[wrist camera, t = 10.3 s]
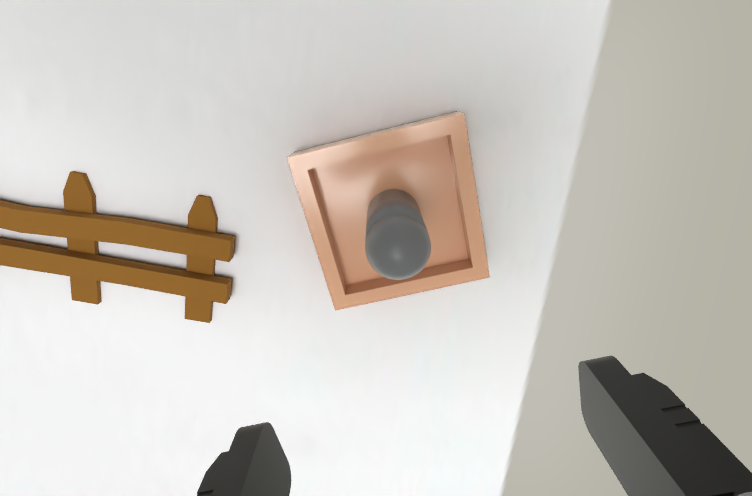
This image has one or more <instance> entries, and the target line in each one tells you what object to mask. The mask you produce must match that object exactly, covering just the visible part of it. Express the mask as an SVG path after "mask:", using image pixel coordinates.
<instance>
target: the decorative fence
mask: <svg viewBox="0 0 752 496" xmlns="http://www.w3.org/2000/svg"><path fill="white" fill-rule="evenodd" d="M63 195H64V207H65V210H56V209H47V208H39V207H30V206H24V205H20V204H16V203H11V202H7V201H2V200H0V228H3V229H7V230H12V231H16V232H21V233H30V234H39V235H48V236H56V237H65V238H67V245H68V250H66V249H61V248H55V247H49V246H44V245H38V244H33V243H27V242H21V241H15V240H9V239H3V238H0V265H3V266H10V267H16V268H22V269H28V270H34V271H40V272H47V273H53V274H59V275H66V276H70V282H71V294H72V300H75V301H81V302H87V303H93V304H99V303H100V302H101V287H100V281H104V282H110V283H116V284H122V285H128V286H133V287H138V288H144V289H149V290H154V291H160V292H165V293H170V294H176V295H181V296H186V298H185V319H189V320H195V321H201V322H208V323H210V321H211V320H212V305H213V302H218V303H224V304H226V303H227V302H228V300H229V299H230V295H231V282H232V279H229V278H224V277H218V276H214V271H215V260H221V261H227V262H230V260H231V259H232V258H233V256H234V243H235V236H230V235H225V234H219V233H217V220H218V218H217V215H216V211H215V208H214V205H213V202H212V199H211V197H208V196H203V195H198V196H197V197H196V199H195V201H194V203H193V206H192V208H191V210H190V212H189V214H188V228H185V227H179V226H173V225H168V224H162V223H156V222H150V221H145V220H139V219H133V218H125V217H117V216H108V215H99V214H96V196H95V193H94V191H93V188H92V186H91V184H90V181H89V179H88V177H87V174H85V173H80V172H75V171H73V172H70V174H69V176H68V179H67V182H66V185H65V188H64V191H63ZM98 241H101V242H110V243H118V244H127V245H133V246H139V247H145V248H150V249H156V250H162V251H168V252H174V253H180V254H186V255H187V267H186V271H184V270H179V269H173V268H167V267H162V266H156V265H151V264H145V263H139V262H134V261H128V260H122V259H117V258H111V257H106V256H100V255H99V250H98Z"/></svg>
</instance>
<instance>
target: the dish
mask: <svg viewBox="0 0 752 496" xmlns="http://www.w3.org/2000/svg"><path fill="white" fill-rule="evenodd" d="M287 160H288V163H289V167H290V170H291V173H292V176H293V179H294V182H295V185H296V189H297V192H298V195H299V198H300V201H301V204H302V207H303V211H304V214H305V217H306V220H307V223H308V226H309V229H310V233H311V236H312V239H313V242H314V245H315V248H316V251H317V254H318V258H319V261H320V264H321V267H322V270H323V273H324V276H325V280H326V283H327V286H328V289H329V292H330V295H331V298H332V302H333V305H334V308H335V310H339V309H344V308H349V307H354V306H358V305H363V304H368V303H372V302H377V301H382V300H386V299H391V298H396V297H400V296H405V295H410V294H414V293H419V292H424V291H428V290H433V289H438V288H442V287H447V286H452V285H456V284H461V283H466V282H470V281H475V280H480V279H484V278H489V277H490V276H489V270H488V263H487V257H486V250H485V244H484V237H483V231H482V224H481V218H480V211H479V205H478V199H477V192H476V186H475V179H474V173H473V166H472V160H471V153H470V147H469V140H468V134H467V127H466V121H465V115H464V113H461V112H457V111H456V112H452V113H448V114H444V115H440V116H436V117H432V118H428V119H424V120H420V121H416V122H412V123H408V124H404V125H400V126H396V127H392V128H388V129H384V130H380V131H376V132H372V133H368V134H364V135H360V136H356V137H352V138H348V139H344V140H340V141H336V142H332V143H328V144H324V145H320V146H316V147H312V148H308V149H304V150H300V151H296V152H294V153H292V154H291V155H290V156H289V157H287ZM389 189H398V190H402V191H405V192H407V193H408V194H410V195H411V196H412V197H413V198H414V199H415V201H416V202H417V204H418V207H419V209H420V212H421V215H422V217H423V220H424V223H425V226H426V228H427V231H428V234H429V237H430V241H431V253H430V257H429V260H428V262H427V264H426V265H425V267H424V268H423V269H422V270H421V271H420V272H419V273H418V274H416V275H415V276H413V277H410V278H407V279H403V280H393V279H389V278H386V277H384V276H382V275H380V274H379V273H377V272H376V271H375V270H374V269H373V268H372V266H371V265H370V263H369V261H368V259H367V256H366V252H365V239H366V222H367V210H368V206H369V204H370V202H371V201H372V199H373V198H374V197H375V196H376V195H377V194H379V193H380V192H382V191H385V190H389Z"/></svg>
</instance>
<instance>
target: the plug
mask: <svg viewBox="0 0 752 496" xmlns="http://www.w3.org/2000/svg"><path fill="white" fill-rule="evenodd" d="M365 252H366V256H367V259H368V261H369V263H370V265H371V266H372V268H373V269H374V270H375V271H376V272H377V273H379V274H380V275H382V276H384V277H386V278H389V279H393V280H403V279H407V278H410V277H413V276H415V275H416V274H418V273H419V272H420V271H421V270H422V269H423V268H424V267H425V265H426V264H427V262H428V260H429V257H430V253H431V241H430V237H429V234H428V231H427V228H426V226H425V223H424V220H423V217H422V215H421V212H420V209H419V207H418V204H417V202H416V201H415V199H414V198H413V197H412V196H411V195H410V194H408V193H407V192H405V191H402V190H398V189H389V190H385V191H382V192H380V193H379V194H377V195H376V196H375V197H374V198H373V199H372V201H371V202H370V204H369V206H368V210H367V222H366V239H365Z"/></svg>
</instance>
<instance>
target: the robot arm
mask: <svg viewBox="0 0 752 496" xmlns="http://www.w3.org/2000/svg"><path fill="white" fill-rule="evenodd" d="M579 381H580V396H581V408H582V414H583V417H584V421H585V423H586V426H587V428H588V430H589V433H590V434H591V436H592V438H593V439H594V441H595V442H596V444H597V446H598V447H599V449H600V451H601V452H602V454H603V456H604V457H605V459H606V460H607V462H608V464H609V465H610V467H611V469H612V470H613V472H614V473H615V475H616V477H617V478H618V480H619V481H620V483H621V484H622V486H623V488H624V490H625V491H626V493H627V494H628V496H752V473H751V472H750V471H749V470H748V469H747V468H746V467H745V466H744V465H743V464H742V463H741V462H740V461H739V460H738V459H737V458H736V457H735V455H733V454H732V452H730V450H728V448H727V447H726V446H725V445H724V444H723V443H722V442H721V441H720V440H719V439H718V438H717V437H716V436H715V435H714V434H713V433H712V432H711V431H710V430H709V429H708V428H707V427H706V426H705V425H704V424H701V422H700V420H699V419H698V417H697V416H695V414H694V413H693V412H692V411H691V410H690V409H689V408H686V407H685V404H684V403H683V402H682V401H681V400H680V399H679V398H678V397H677V396H676V395H675V394H674V393H673V392H672V391H671V390H670V389H669V388H668V387H667V386H666V385H664V384H662V383H660V382H659V381H657V380H655V379H653V378H652V377H650V376H648V375H646V374H645V373H641V374H635V375H631V374H630V373H629V372H628V371H627V370H626V369H625V368H624V367H623V365H622V364H621V363H620V362H619V361H618V360H617V359H616V358H615V357H613V356H607V357H602V358H597V359H591V360H586V361H581V362H580V363H579ZM290 488H291V471H290V466H289V463H288V460H287V458H286V456H285V453H284V451H283V449H282V447H281V444H280V442H279V440H278V438H277V435H276V433H275V431H274V429H273V427H272V425H271V424H270V423H268V422H266V423H261V424H256V425H251V426H246V427H241V428H239V429H238V431H237V432H236V434H235V437H234V439H233V442H232V445H231V447H230V450H229V451H228V452H223V453H221V454H220V455H219V456H218V458H217V459H216V460H215V461H214V463H213V464H212V465H211V466H210V468H209V469H208V470H207V471H206V473H205V476H204V478H203V480H202V483H201V485H200V487H199V490H198V492H197V496H289V493H290Z"/></svg>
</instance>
